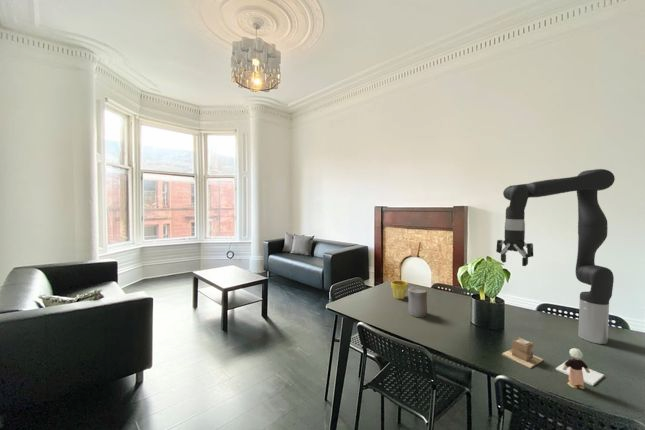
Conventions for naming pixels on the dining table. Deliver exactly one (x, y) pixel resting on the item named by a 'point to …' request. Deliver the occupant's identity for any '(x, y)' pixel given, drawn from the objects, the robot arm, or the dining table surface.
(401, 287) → the plant pot
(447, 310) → the dining table surface
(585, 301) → the robot arm
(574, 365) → the grandmother figurine
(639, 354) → the dining table surface
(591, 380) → the pad
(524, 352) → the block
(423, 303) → the pillar candle
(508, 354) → the pad
